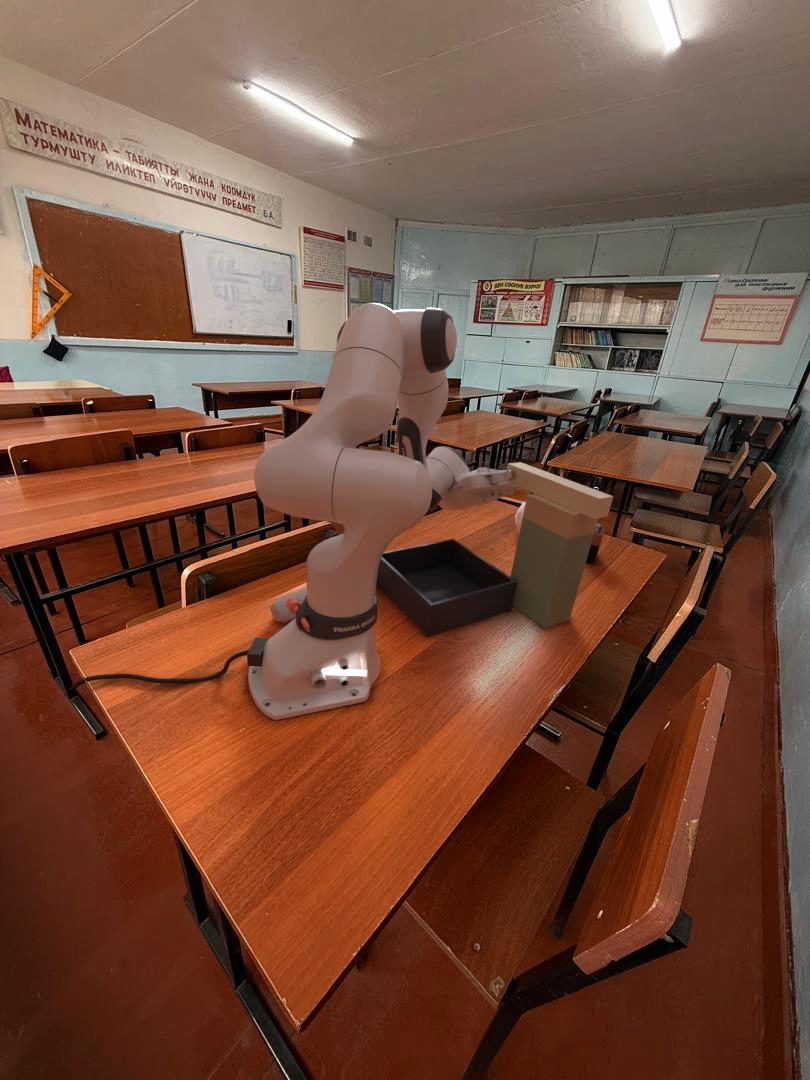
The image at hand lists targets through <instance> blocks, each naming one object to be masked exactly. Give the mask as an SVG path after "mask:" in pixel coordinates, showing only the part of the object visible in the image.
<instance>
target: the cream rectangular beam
mask: <svg viewBox="0 0 810 1080" xmlns="http://www.w3.org/2000/svg"><path fill="white" fill-rule="evenodd" d="M506 466H507V467H506V470H507V471H511V470H513V471H514V475H515V478H513V479H510V480H506V481H507V482H509V483H511V484H514V485H516V486H518V487H521V488H522V489H523V490H526V491H528V492H530V493H531V494H537V495H539V496H542V497H544V498H546V499H549V500H551V501H553V502H555V503H558V504H560V505H562V506H565V507H567V508H569V509H572V510H574V511H576V512H579V513H581V514H583V515H586V516H588V517H590V518H593V519H597V518H598V519H601V518H602V519H603V518H606V517H607V518H608V516H609V513H610V509H611V507H612V503H613V499H614V496H613V495H611V494H608V493H605V492H603V491H600V490H598V489H594V488H592V487H590V486H586V485H584V484H582V483H578V482H575V481H574V480H573V481H572V480H571V479H567V478H565V477H562V476H559V475H558V474H557V475H556V474H555V473H551V472H549V471H546V470H543V469H541V468H538V467H534V466H532V465H529V464H527V463H524V462H522V461H519V462H509V463H507V465H506Z"/></svg>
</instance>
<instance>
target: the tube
mask: <svg viewBox="0 0 810 1080" xmlns="http://www.w3.org/2000/svg"><path fill="white" fill-rule="evenodd" d="M306 595H307V586H306V587H304V588H301V589H298V590H295V591H293V592H291V593H289V594H286V595H282V596H281V597H278V598H276V599H275V600H274V602H273V603H272V604H271V605H270V607H269V608H270V612H271V616H272V619H273V620H274V621H276V622H278V623H282V624H287V623H289V622H291V621H292V620H294V619H295V618H296V613H292V612H290V611H289V608H288V607H287V606H286V601H288V599H289V598H291V597H295V598H296V599H297V600H298V602H299V603H300V604H302V603H303V601H304V599H305V597H306Z"/></svg>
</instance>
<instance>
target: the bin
mask: <svg viewBox="0 0 810 1080" xmlns="http://www.w3.org/2000/svg"><path fill="white" fill-rule="evenodd" d="M376 586H378V587H379V588H380V590H381V591H382V592H383V593H385V595H386V596H387V597H388V598H389V599H390V600H391V601H392V603H394V604H395V605H396V607H398V608H399V609H400V610H401V612H402V613H404V615H405V616H407V618H408V619H409V620H410V621H411V622H412V623H413V624H414V625H415V626H416V627H417V628H418V629H419V630H420V631H421V632H422V633H423V634H424V635H425V637H426V638H430V637H433V636H436V635H439V634H443V633H446V632H449V631H452V630H455V629H458V628H462V627H464V626H467V625H470V624H471V625H472V624H474V623H476V622H480V621H482V620H485V619H489V618H492V617H495V616H498V615H502V614H505V613H508V612H511V611H512V610H513V600H514V596H515V591H516V586H517V581H516V580H514V579H513V578H511V575H508V574H507V573H506V572H504V571H502V570H501V569H499V568H497V567H496V566H495V565H494V564H492V563H490V562H489V561H487V560H486V559H484V558H483V557H481V556H480V555H479V554H477V553H475V552H474V551H472V550H471V549H469V548H468V547H466V546H465V545H464V544H462V543H460V542H459V541H458V540H456V539H455V538H451V539H445V540H438V541H434V542H429V543H423V544H418V545H413V546H408V547H403V548H397V549H393V550H387V551H384V553H383V555H382V557H381V560H380V563H379V568H378V574H377V582H376Z"/></svg>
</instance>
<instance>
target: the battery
mask: <svg viewBox="0 0 810 1080" xmlns="http://www.w3.org/2000/svg"><path fill="white" fill-rule="evenodd" d="M604 533H605V527H603V526H602V525H601V524H600V523H597V525H596V528H595V532H594V535H593V539H592V542H591V546H590V549H589V553H588V556H587V560H586V563H588V564H591V565H593V564H595V562H596V560H597V556H598V553H599V550H600V547H601V543H602V540H603V537H604Z"/></svg>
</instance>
